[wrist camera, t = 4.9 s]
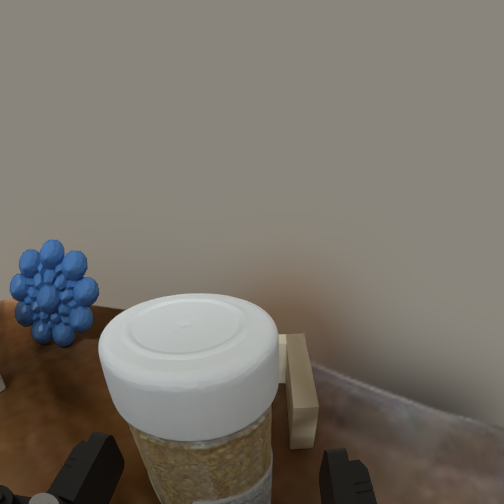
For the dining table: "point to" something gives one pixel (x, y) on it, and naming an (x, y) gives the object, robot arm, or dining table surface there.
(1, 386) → the skincare box
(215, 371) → the spice jar
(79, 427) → the dining table surface
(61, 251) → the blue bumpy cluster
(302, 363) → the pocket
